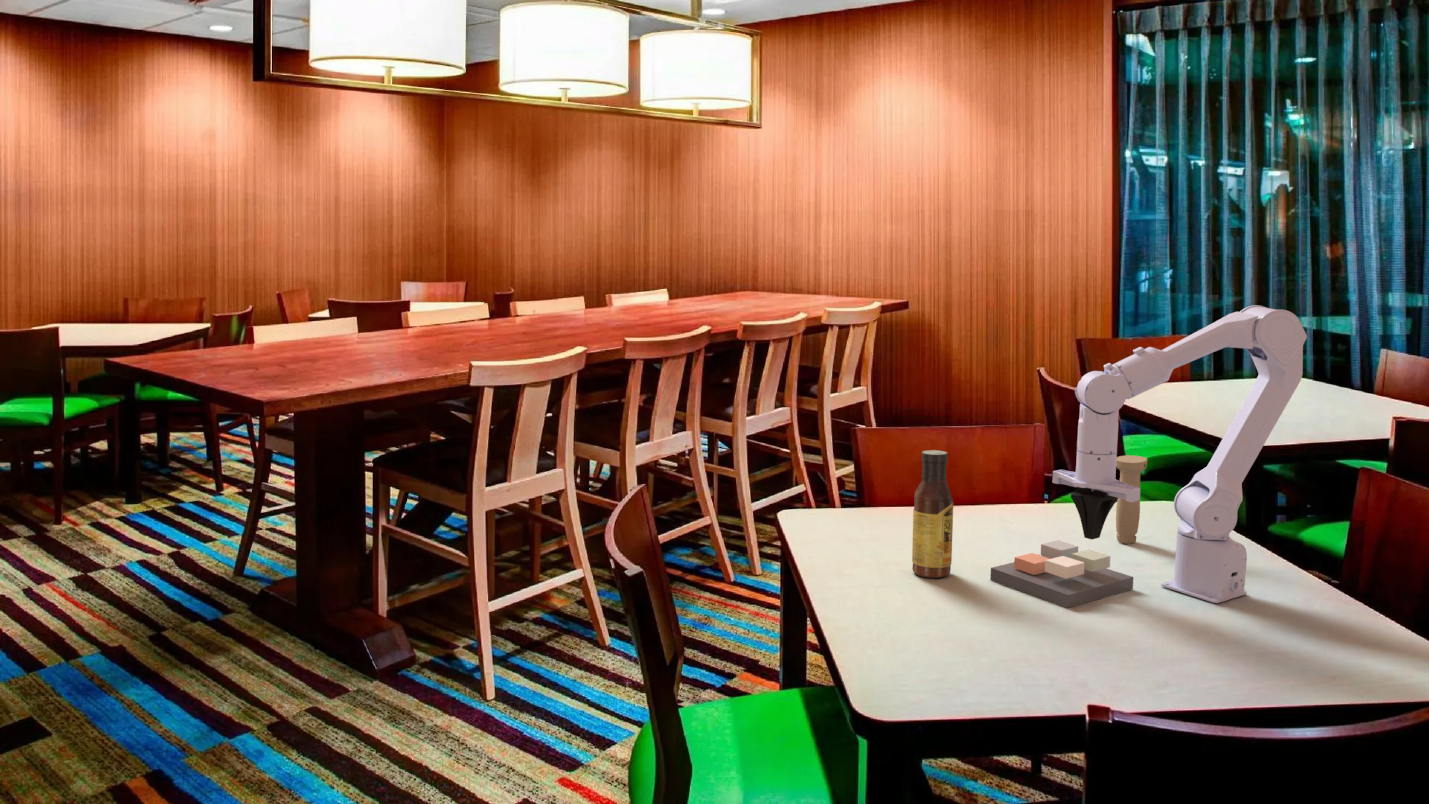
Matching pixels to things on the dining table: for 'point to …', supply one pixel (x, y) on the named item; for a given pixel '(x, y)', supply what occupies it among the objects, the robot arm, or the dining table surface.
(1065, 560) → the key cream
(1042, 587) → the keypad base
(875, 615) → the dining table surface
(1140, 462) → the handle
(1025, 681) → the dining table surface
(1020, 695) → the dining table surface
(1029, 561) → the key terracotta
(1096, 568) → the key sage
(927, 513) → the sauce bottle
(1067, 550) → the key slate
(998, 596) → the dining table surface
